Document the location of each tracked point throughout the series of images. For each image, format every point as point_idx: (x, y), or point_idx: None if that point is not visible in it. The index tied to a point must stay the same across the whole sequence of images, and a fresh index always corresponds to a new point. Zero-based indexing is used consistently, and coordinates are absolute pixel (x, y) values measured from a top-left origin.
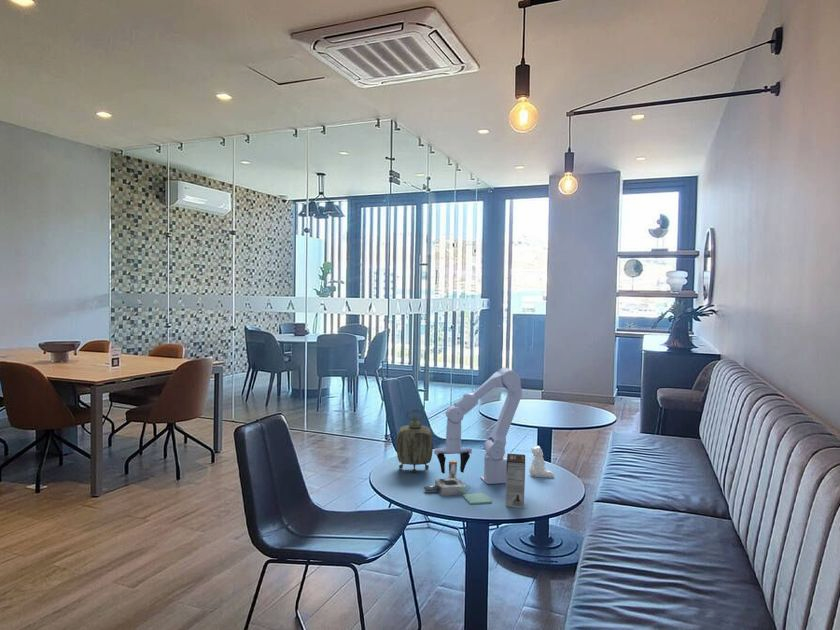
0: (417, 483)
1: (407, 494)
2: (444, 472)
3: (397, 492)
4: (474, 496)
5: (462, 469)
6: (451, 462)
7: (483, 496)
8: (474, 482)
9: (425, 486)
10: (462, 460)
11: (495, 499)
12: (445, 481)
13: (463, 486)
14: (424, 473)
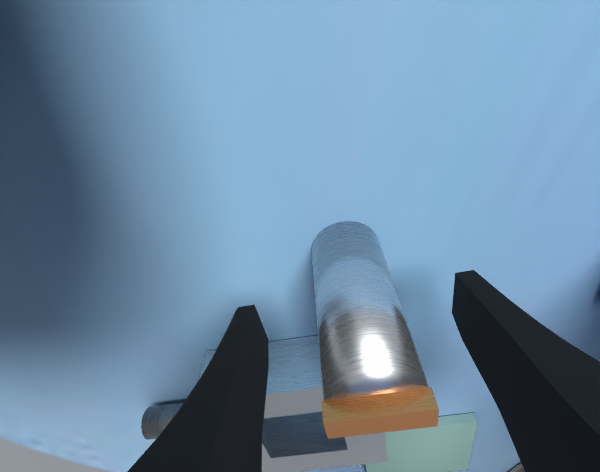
0: (62, 302)
1: (69, 422)
2: (267, 351)
3: (3, 409)
4: (410, 445)
5: (468, 347)
6: (354, 430)
7: (454, 444)
8: (522, 267)
9: (147, 437)
10: (529, 438)
11: (501, 439)
12: (271, 412)
13: (373, 462)
14: (16, 18)
